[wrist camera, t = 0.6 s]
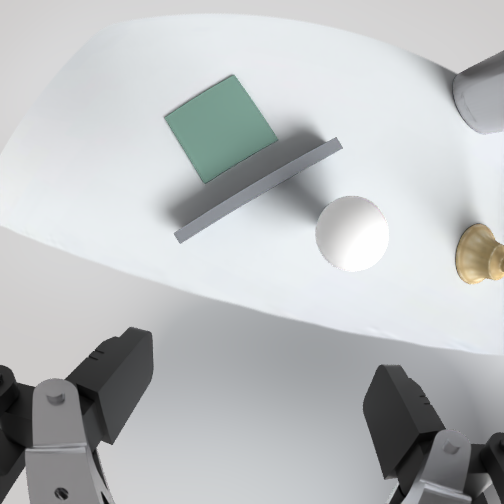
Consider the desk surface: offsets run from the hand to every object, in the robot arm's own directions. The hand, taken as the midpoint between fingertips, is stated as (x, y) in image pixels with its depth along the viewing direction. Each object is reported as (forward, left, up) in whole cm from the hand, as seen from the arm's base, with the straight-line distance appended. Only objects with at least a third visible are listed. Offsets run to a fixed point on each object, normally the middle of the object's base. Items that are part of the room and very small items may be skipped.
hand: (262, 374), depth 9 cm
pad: (-2, -14, -22) cm, 26 cm away
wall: (-2, -6, -23) cm, 23 cm away
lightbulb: (-7, +1, -23) cm, 24 cm away
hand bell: (-24, +15, -23) cm, 37 cm away
